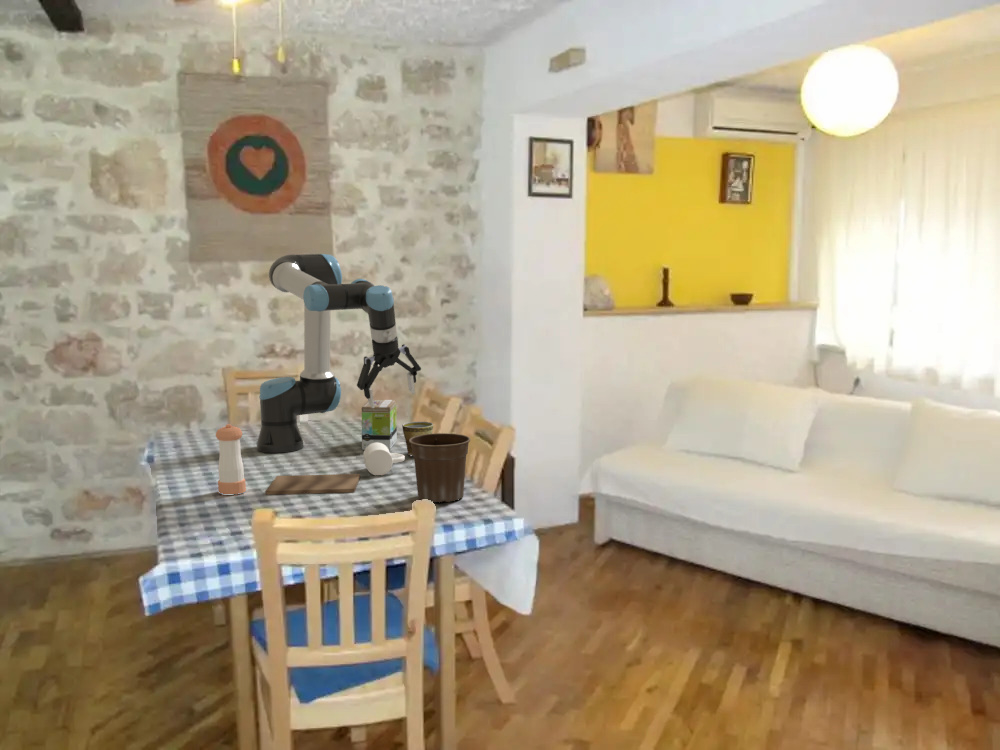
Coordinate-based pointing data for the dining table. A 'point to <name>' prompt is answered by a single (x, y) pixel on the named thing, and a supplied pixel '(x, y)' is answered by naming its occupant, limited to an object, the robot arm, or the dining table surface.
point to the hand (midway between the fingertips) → (392, 399)
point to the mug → (380, 458)
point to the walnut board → (314, 484)
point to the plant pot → (440, 465)
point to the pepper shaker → (230, 461)
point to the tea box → (379, 423)
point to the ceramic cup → (415, 431)
